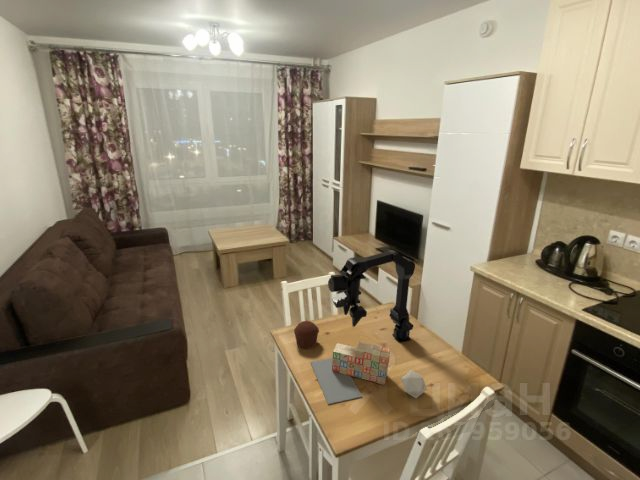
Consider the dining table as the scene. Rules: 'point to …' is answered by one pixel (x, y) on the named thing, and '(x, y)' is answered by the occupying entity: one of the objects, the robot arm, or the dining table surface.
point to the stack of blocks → (362, 361)
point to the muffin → (306, 334)
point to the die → (413, 384)
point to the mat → (334, 382)
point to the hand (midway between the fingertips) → (349, 320)
